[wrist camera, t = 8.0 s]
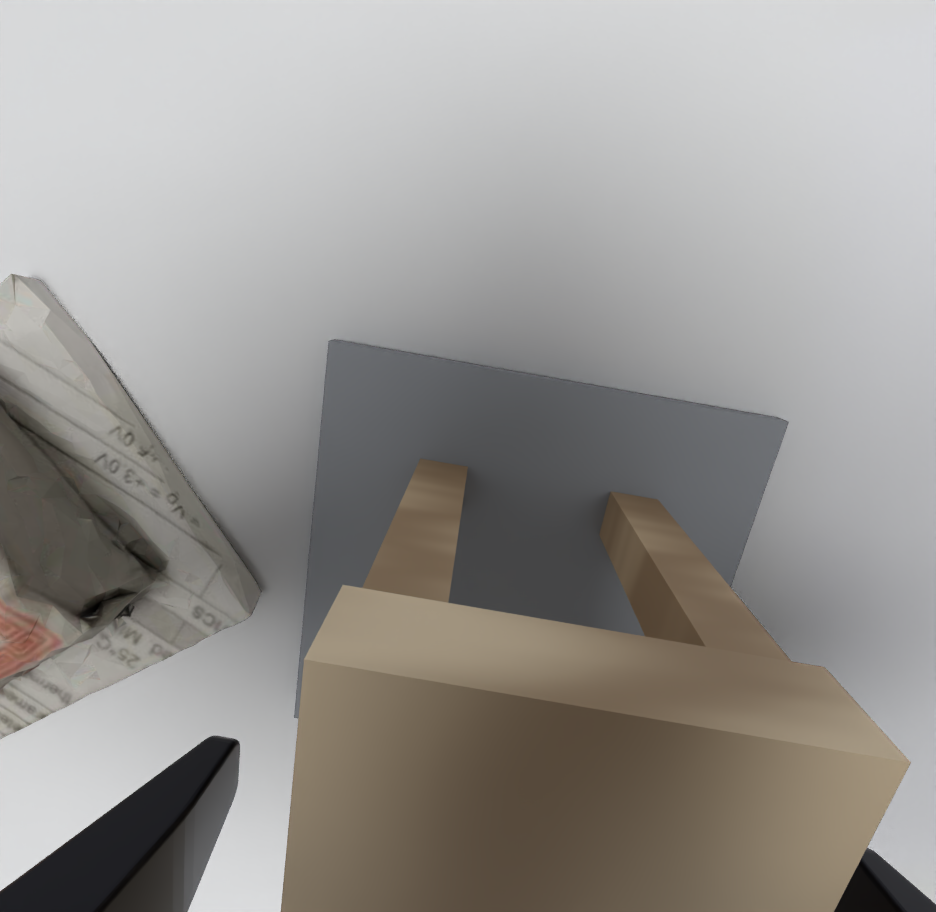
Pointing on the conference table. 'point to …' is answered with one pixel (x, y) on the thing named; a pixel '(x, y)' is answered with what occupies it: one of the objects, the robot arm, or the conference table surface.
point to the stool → (570, 743)
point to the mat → (522, 480)
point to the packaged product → (92, 524)
